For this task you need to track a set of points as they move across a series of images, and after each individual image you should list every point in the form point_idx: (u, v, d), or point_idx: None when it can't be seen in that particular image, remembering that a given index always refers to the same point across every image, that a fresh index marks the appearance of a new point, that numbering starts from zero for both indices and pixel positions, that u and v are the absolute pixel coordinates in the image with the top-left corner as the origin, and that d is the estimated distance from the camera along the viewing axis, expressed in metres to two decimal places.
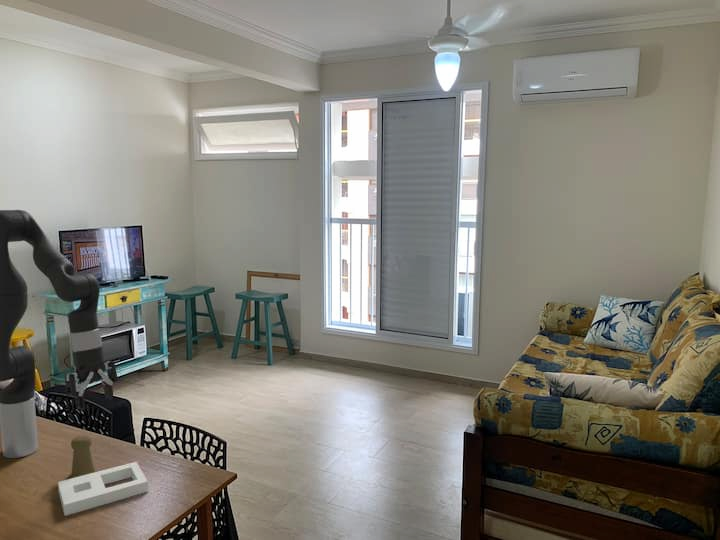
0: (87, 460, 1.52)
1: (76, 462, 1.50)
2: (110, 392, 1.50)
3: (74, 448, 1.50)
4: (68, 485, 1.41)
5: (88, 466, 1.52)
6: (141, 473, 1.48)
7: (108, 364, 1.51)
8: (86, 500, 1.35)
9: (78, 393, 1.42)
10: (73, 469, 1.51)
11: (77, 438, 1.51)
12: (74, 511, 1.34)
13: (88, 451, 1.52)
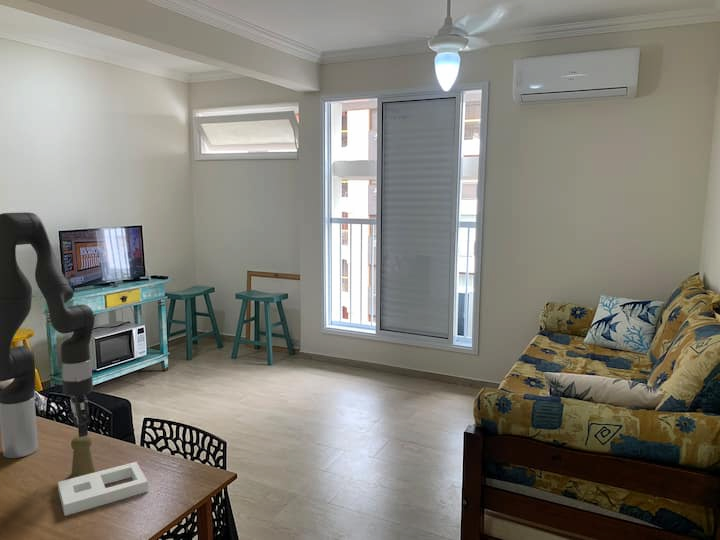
0: (87, 460, 1.52)
1: (76, 462, 1.50)
2: (82, 418, 1.55)
3: (74, 448, 1.50)
4: (68, 485, 1.41)
5: (88, 466, 1.52)
6: (141, 473, 1.48)
7: None
8: (86, 500, 1.35)
9: None
10: (73, 469, 1.51)
11: (77, 438, 1.51)
12: (74, 511, 1.34)
13: (88, 451, 1.52)
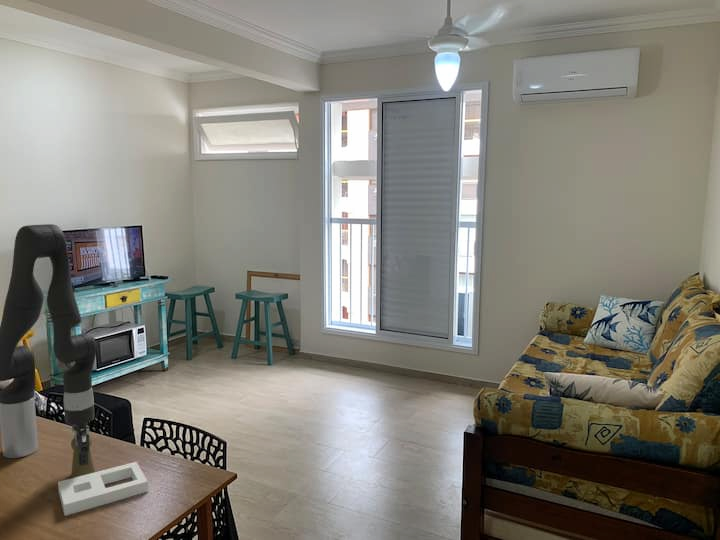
0: None
1: (76, 462, 1.50)
2: None
3: (74, 448, 1.50)
4: (68, 485, 1.41)
5: (88, 466, 1.52)
6: (141, 473, 1.48)
7: None
8: (86, 500, 1.35)
9: None
10: (73, 469, 1.51)
11: None
12: (74, 511, 1.34)
13: None
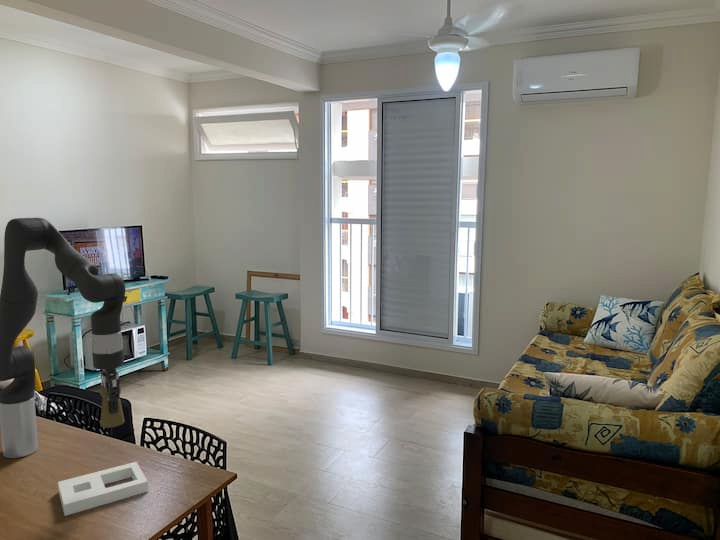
0: None
1: (105, 410, 1.41)
2: None
3: (103, 395, 1.41)
4: (68, 485, 1.41)
5: (118, 414, 1.43)
6: (141, 473, 1.48)
7: None
8: (86, 500, 1.35)
9: None
10: (102, 418, 1.42)
11: None
12: (74, 511, 1.34)
13: (118, 399, 1.43)
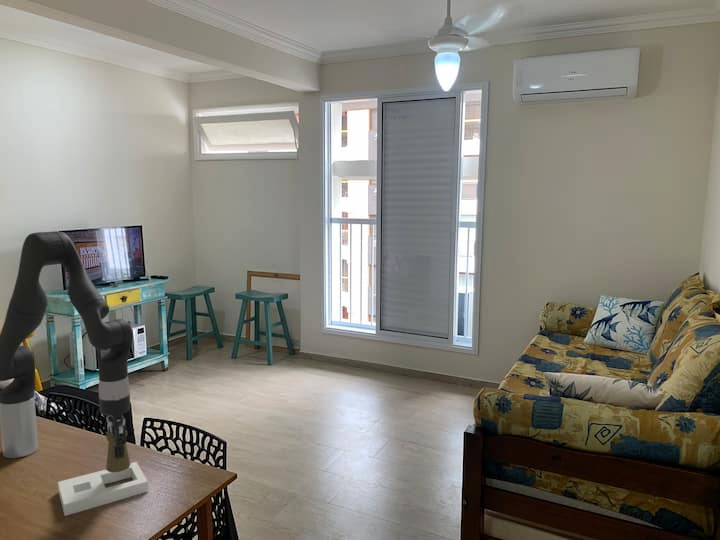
0: None
1: (111, 455, 1.42)
2: None
3: (110, 440, 1.42)
4: (68, 485, 1.41)
5: (124, 459, 1.44)
6: (141, 473, 1.48)
7: None
8: (86, 500, 1.35)
9: None
10: (108, 462, 1.43)
11: None
12: (74, 511, 1.34)
13: None
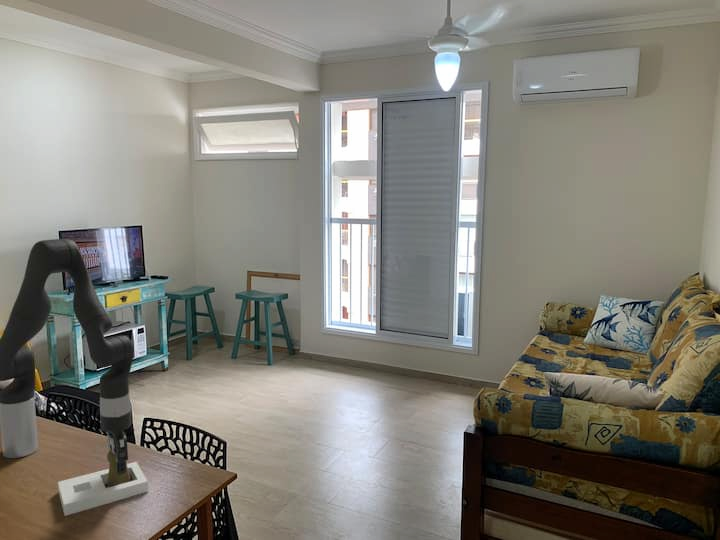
0: (124, 474, 1.45)
1: (112, 476, 1.43)
2: None
3: (111, 461, 1.43)
4: (68, 485, 1.41)
5: (125, 479, 1.45)
6: (141, 473, 1.48)
7: None
8: (86, 500, 1.35)
9: None
10: (109, 483, 1.44)
11: None
12: (74, 511, 1.34)
13: None
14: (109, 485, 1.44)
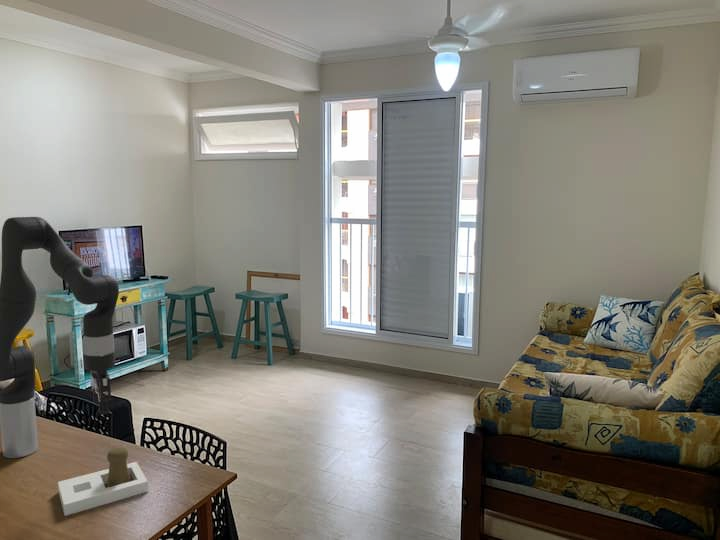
0: (124, 474, 1.45)
1: (112, 476, 1.43)
2: (102, 395, 1.48)
3: (111, 461, 1.43)
4: (68, 485, 1.41)
5: (125, 479, 1.45)
6: (141, 473, 1.48)
7: None
8: (86, 500, 1.35)
9: None
10: (109, 483, 1.44)
11: (113, 450, 1.44)
12: (74, 511, 1.34)
13: (125, 464, 1.45)
14: (109, 485, 1.44)
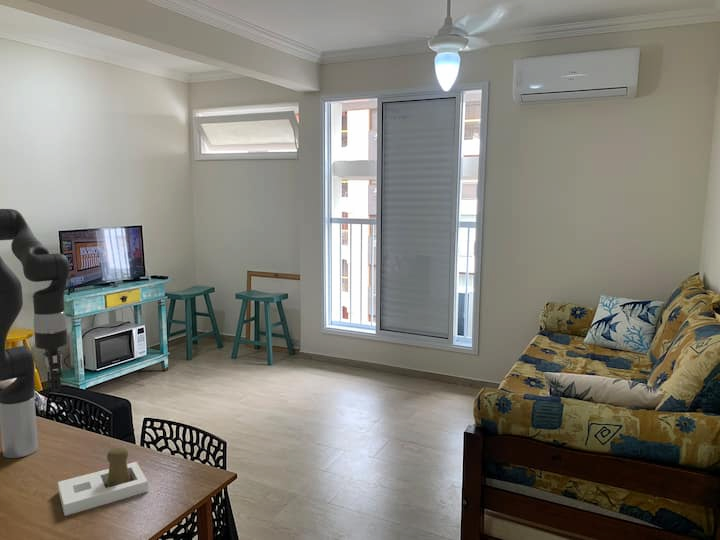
0: (124, 474, 1.45)
1: (112, 476, 1.43)
2: None
3: (111, 461, 1.43)
4: (68, 485, 1.41)
5: (125, 479, 1.45)
6: (141, 473, 1.48)
7: None
8: (86, 500, 1.35)
9: None
10: (109, 483, 1.44)
11: (113, 450, 1.44)
12: (74, 511, 1.34)
13: (125, 464, 1.45)
14: (109, 485, 1.44)
